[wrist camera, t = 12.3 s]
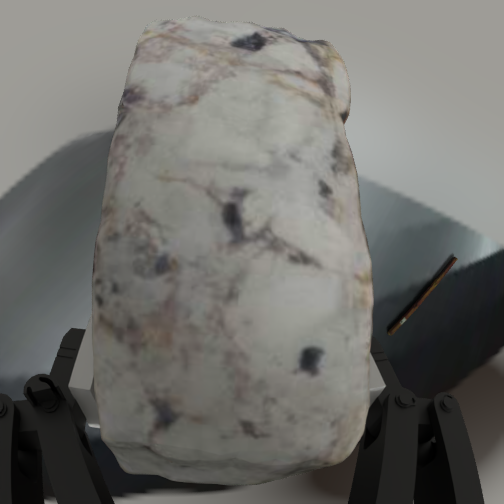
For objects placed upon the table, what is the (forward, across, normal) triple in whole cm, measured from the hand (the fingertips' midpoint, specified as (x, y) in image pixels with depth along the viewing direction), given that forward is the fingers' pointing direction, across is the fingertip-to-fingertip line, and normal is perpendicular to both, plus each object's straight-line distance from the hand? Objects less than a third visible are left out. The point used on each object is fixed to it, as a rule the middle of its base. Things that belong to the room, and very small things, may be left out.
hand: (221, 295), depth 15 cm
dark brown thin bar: (+13, +25, -10) cm, 30 cm away
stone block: (+9, 0, -7) cm, 11 cm away
